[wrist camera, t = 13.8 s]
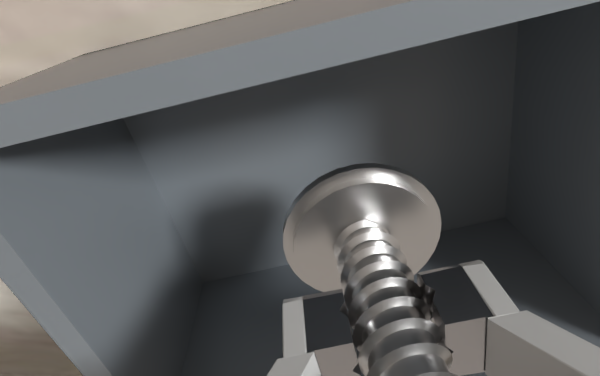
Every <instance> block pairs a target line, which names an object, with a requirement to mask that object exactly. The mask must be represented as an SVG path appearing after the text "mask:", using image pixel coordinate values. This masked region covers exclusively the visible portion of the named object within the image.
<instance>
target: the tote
mask: <svg viewBox="0 0 600 376" xmlns="http://www.w3.org/2000/svg"><path fill="white" fill-rule="evenodd" d="M363 163H378V164H385V165H391V166H394V167H397V168H399V169H402V170H405V171H407V172H409V173H410V174H412V175H413V176H415V177H416V178H418V179H419V180H420V181H421V182H422V183H423V184H424V185H425V187H426V188H427V189H428V190H429V191H430V193H431V194H432V195H433V197H434V199H435V201H436V203H437V205H438V207H439V210H440V216H441V223H442V224H441V232H440V238H439V241H438V243H437V246H436V249H435V251H434V253H433V254H432V256H431V257H430V259H429V260H428V262H427V263H426V264H425V265H424V266H423V267H422V268H421V269H420V270H419V271H418V272H417V273H419V272H424V271H429V270H433V269H438V268H442V267H447V266H452V265H456V264H457V265H458V264H461V263H466V262H471V261H475V260H481V261H483V262H484V263H485V265H486V266H487V267H488V269H489V270H490V272H491V273H492V274H493V276H494V277H495V278H496V280H497V281H498V282H499V284H500V285H501V286H502V288H503V289H504V290H505V292H506V293H507V294H508V296H509V297H510V299H511V300H512V301H513V303H514V304H515V305H516V307H517V308H518V309H519V311H526V310H527V311H529V312H531V313H533V314H535V315H537V316H539V317H541V318H543V319H545V320H547V321H549V322H551V323H553V324H555V325H556V326H558V327H560V328H562V329H564V330H566V331H568V332H570V333H572V334H574V335H576V336H578V337H580V338H582V339H584V340H586V341H588V342H590V343H591V344H593V345H595V346H597V347H599V348H600V0H293V1H290V2H286V3H282V4H278V5H274V6H270V7H266V8H262V9H258V10H254V11H251V12H247V13H243V14H239V15H235V16H231V17H227V18H223V19H219V20H215V21H212V22H208V23H204V24H200V25H196V26H192V27H188V28H184V29H180V30H177V31H173V32H169V33H165V34H161V35H157V36H153V37H149V38H145V39H141V40H138V41H134V42H130V43H126V44H122V45H118V46H114V47H110V48H106V49H102V50H99V51H95V52H91V53H87V54H83V55H81V56H78V57H76V58H73V59H71V60H68V61H65V62H63V63H60V64H58V65H55V66H53V67H50V68H48V69H45V70H43V71H40V72H38V73H35V74H32V75H30V76H27V77H25V78H22V79H20V80H17V81H15V82H12V83H10V84H7V85H5V86H2V87H0V278H1V279H2V280H3V282H4V283H5V284H6V285H7V286H8V287H9V289H10V290H11V291H12V292H13V293H14V295H15V296H16V297H17V298H18V299H19V300H20V302H21V303H22V304H23V305H24V306H25V307H26V309H27V310H28V311H29V312H30V313H31V315H32V316H33V317H34V318H35V319H36V320H37V322H38V323H39V324H40V325H41V326H42V327H43V329H44V330H45V331H46V332H47V333H48V335H49V336H50V337H51V338H52V339H53V340H54V342H55V343H56V344H57V345H58V346H59V347H60V349H61V350H62V351H63V352H64V353H65V355H66V356H67V357H68V358H69V359H70V360H71V362H72V363H73V364H74V365H75V366H76V367H77V369H78V370H79V371H80V372H81V373H82V375H83V376H267V374H268V373H269V371H270V369H271V368H272V366H273V364H274V363H275V361H276V360H277V359H279V358H283V332H282V304H283V300H284V299H290V298H296V297H301V296H304V295H310V294H316V293H321V292H322V291H319V290H316V289H314V288H313V287H311V286H310V285H308V284H306V283H305V282H303V281H302V280H301V279H300V278H299V277H298V276H297V275H296V274H295V273H294V272H293V270H292V268H291V267H290V265H289V263H288V262H287V259H286V256H285V252H284V249H283V226H284V222H285V218H286V214H287V212H288V210H289V209H290V207H291V205H292V203H293V201H294V200H295V199H296V197H297V196H298V195H299V194H300V193H301V192H302V191H303V190H304V188H305V187H307V186H308V185H309V184H311V183H312V182H313V181H315V180H316V179H317V178H319V177H320V176H322V175H324V174H327V173H329V172H331V171H333V170H335V169H337V168H341V167H345V166H349V165H353V164H363ZM417 273H416V274H415V275H414V282H415V283H416V284H417ZM346 307H347V306H346ZM348 311H349V310H348V308H347V312H348ZM351 329H352V334H353V328H352V327H351ZM355 348H356V347H355ZM356 353H357V357H358V355H359V351H358V350H357V348H356ZM360 371H361V370H360ZM361 376H365V375H364V374H363V373H362V371H361ZM462 376H487V375H486V374H485V372H481V373H475V374H468V375H462Z"/></svg>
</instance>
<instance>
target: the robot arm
mask: <svg viewBox="0 0 600 376" xmlns="http://www.w3.org/2000/svg"><path fill="white" fill-rule="evenodd" d="M417 285H418V286H419V287H420V292H421V294H422V299H421V300H423V301H424V302H425V303H426V304H427V305H428V306H429V308H430V310H431V318H430V321H431V322H433V323H435V324H436V325H437V326H438V327H439V333H440V335H441V339H440V342H439V344H438V345H441V346H443V347H445V348H447V349H448V350H449V351H450V352H451V354H452V358H453V361H452V365H451V367H450V368H449V372H450V373H453V374H456V375H458V376H462V375H468V374H475V373H481V372H485V374H486V375H487V376H600V348H599V347H597V346H595V345H593V344H591V343H590V342H588V341H586V340H584V339H582V338H580V337H578V336H576V335H574V334H572V333H570V332H568V331H566V330H564V329H562V328H560V327H558V326H556V325H555V324H553V323H551V322H549V321H547V320H545V319H543V318H541V317H539V316H537V315H535V314H533V313H531V312H529V311H527V310H526V311H519V309H518V308H517V307H516V305H515V304H514V303H513V301H512V300H511V299H510V297H509V296H508V294H507V293H506V292H505V290H504V289H503V288H502V286H501V285H500V284H499V282H498V281H497V280H496V278H495V277H494V276H493V274H492V273H491V272H490V270H489V269H488V267H487V266H486V265H485V263H484V262H483V261H481V260H475V261H471V262H466V263H461V264H458V265H457V264H456V265H452V266H447V267H442V268H438V269H433V270H429V271H424V272H419V273H417ZM282 332H283V358H279V359H277V360H276V361H275V363H274V364H273V366H272V368H271V369H270V371H269V373H268V374H267V376H361V371H360V367H359V364H358V357H357V353H356V348H355V344H354V340H353V334H352V329H351V325H350V322H349V316H348V312H347V307H346V303H345V298H344V295H343V290H342V289H338V290H332V291H327V292H321V293H316V294H310V295H304V296H301V297H296V298H290V299H284V300H283V304H282Z"/></svg>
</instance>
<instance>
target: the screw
mask: <svg viewBox="0 0 600 376" xmlns="http://www.w3.org/2000/svg"><path fill="white" fill-rule="evenodd" d="M441 224H442V223H441V216H440V210H439V207H438V205H437V203H436V201H435V199H434V197H433V195H432V194H431V193H430V191H429V190H428V189H427V188H426V187H425V185H424V184H423V183H422V182H421V181H420V180H419V179H418V178H416V177H415V176H413V175H412V174H410V173H409V172H407V171H405V170H402V169H399V168H397V167H394V166H391V165H385V164H378V163H363V164H353V165H349V166H345V167H341V168H337V169H335V170H333V171H331V172H329V173H327V174H324V175H322V176H320V177H319V178H317V179H316V180H315V181H313V182H312V183H311V184H309V185H308V186H307V187H305V188H304V190H303V191H302V192H301V193H300V194H299V195H298V196H297V197H296V199H295V200H294V201H293V203H292V205H291V207H290V209H289V210H288V212H287V214H286V218H285V222H284V226H283V249H284V252H285V256H286V259H287V262H288V263H289V265H290V267H291V268H292V270H293V272H294V273H295V274H296V275H297V276H298V277H299V278H300V279H301V280H302V281H303V282H305V283H306V284H308V285H310V286H311V287H313V288H314V289H316V290H319V291H322V292H327V291H332V290H338V289H342V290H343V295H344V298H345V303H346V306H347V308H348V310H349V311H348V316H349V322H350V325H351V327H352V328H353V340H354V344H355V347H356V348H357V350H358V351H359V355H358V364H359V367H360V370H361V371H362V373H363V374H364V375H365V376H458V375H456V374H453V373H450V372H449V368H450V367H451V365H452V361H453V358H452V354H451V352H450V351H449V350H448V349H447V348H445V347H443V346H441V345H438V344H439V342H440V339H441V335H440V333H439V327H438V326H437V325H436V324H435V323H433V322H431V321H430V318H431V310H430V308H429V306H428V305H427V304H426V303H425V302H424V301H423V300H421V299H422V294H421V292H420V287H419V286H418V285H417V284H416V283H415V282H414V275H415V274H416V273H417V272H418V271H419V270H420V269H421V268H422V267H423V266H424V265H425V264H426V263H427V262H428V260H429V259H430V257H431V256H432V254H433V253H434V251H435V249H436V246H437V243H438V241H439V238H440V232H441Z"/></svg>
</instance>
